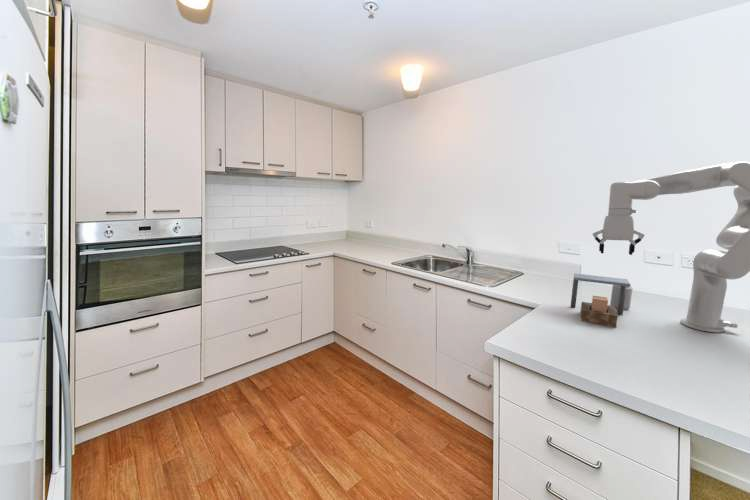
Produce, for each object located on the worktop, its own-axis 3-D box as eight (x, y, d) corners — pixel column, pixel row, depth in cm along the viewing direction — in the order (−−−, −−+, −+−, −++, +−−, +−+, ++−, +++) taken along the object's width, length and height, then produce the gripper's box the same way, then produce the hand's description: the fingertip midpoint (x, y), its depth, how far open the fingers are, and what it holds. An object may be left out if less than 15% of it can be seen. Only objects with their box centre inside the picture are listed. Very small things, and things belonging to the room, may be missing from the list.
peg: (604, 319, 139) (607, 297, 137) (604, 323, 134) (608, 300, 133) (590, 317, 141) (592, 295, 139) (590, 321, 137) (593, 298, 135)
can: (629, 311, 148) (633, 286, 146) (609, 308, 153) (612, 283, 151) (629, 307, 154) (632, 283, 152) (610, 304, 159) (613, 280, 157)
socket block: (612, 317, 141) (614, 306, 141) (616, 327, 130) (617, 315, 130) (580, 312, 148) (581, 301, 147) (580, 321, 137) (582, 310, 136)
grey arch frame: (622, 314, 145) (627, 279, 142) (624, 320, 138) (630, 283, 135) (570, 306, 155) (574, 273, 153) (570, 311, 148) (574, 277, 145)
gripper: (644, 212, 132) (640, 253, 134) (593, 212, 140) (590, 251, 143) (648, 213, 125) (644, 256, 128) (594, 213, 134) (591, 254, 137)
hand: (615, 253), depth 135 cm, fingers open, 9 cm apart
